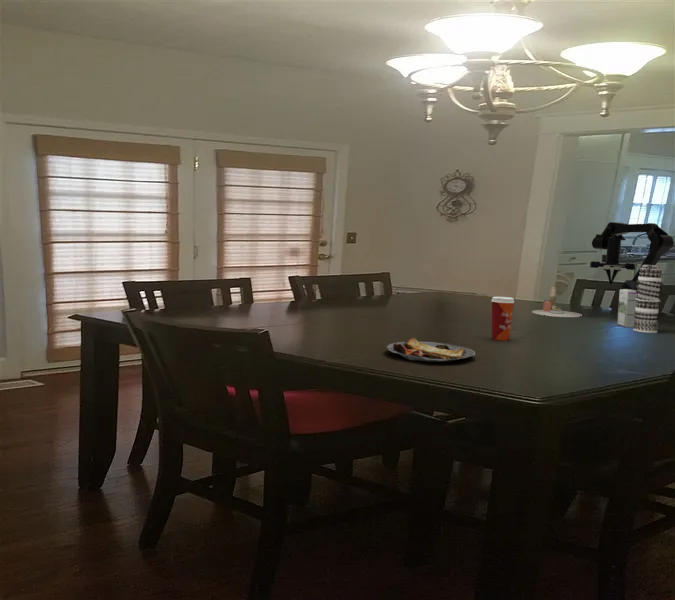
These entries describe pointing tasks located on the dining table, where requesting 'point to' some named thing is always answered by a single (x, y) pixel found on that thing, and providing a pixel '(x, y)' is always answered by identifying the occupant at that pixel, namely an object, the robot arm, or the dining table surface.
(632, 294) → the syrup box
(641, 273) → the decorative candle
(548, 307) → the stop block
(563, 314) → the dial plate
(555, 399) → the dining table surface
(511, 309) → the paper cup
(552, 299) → the crank
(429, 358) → the food plate
